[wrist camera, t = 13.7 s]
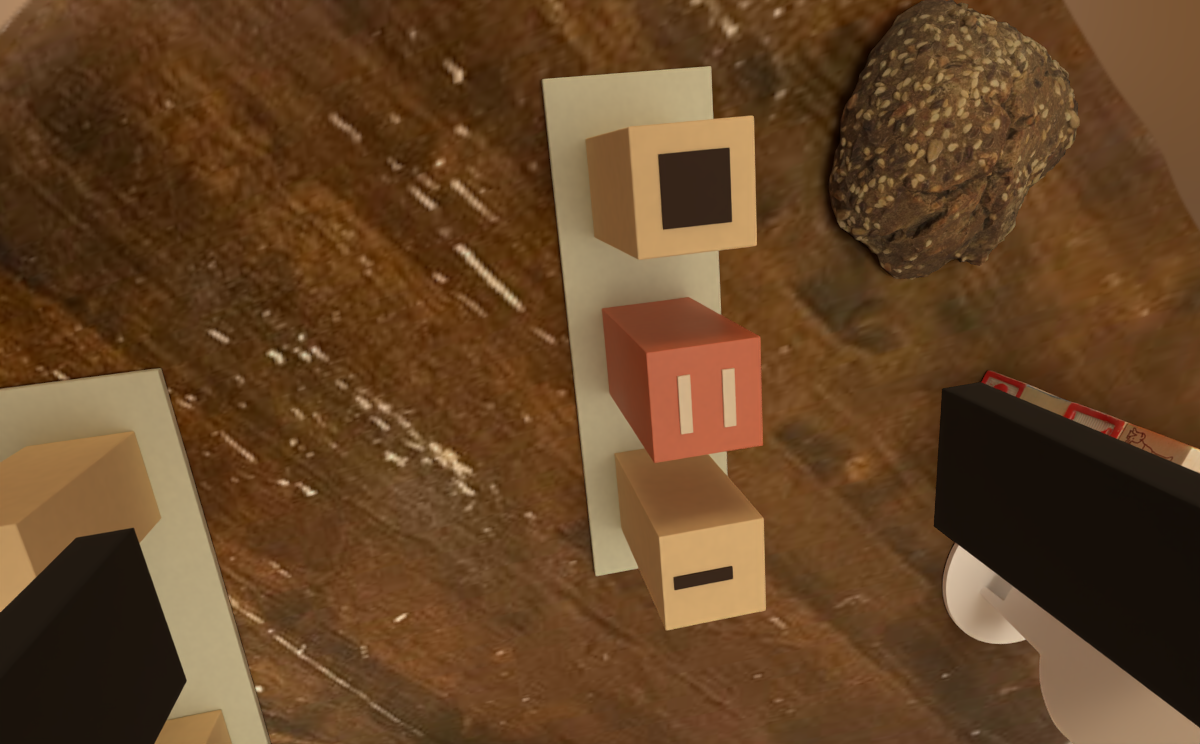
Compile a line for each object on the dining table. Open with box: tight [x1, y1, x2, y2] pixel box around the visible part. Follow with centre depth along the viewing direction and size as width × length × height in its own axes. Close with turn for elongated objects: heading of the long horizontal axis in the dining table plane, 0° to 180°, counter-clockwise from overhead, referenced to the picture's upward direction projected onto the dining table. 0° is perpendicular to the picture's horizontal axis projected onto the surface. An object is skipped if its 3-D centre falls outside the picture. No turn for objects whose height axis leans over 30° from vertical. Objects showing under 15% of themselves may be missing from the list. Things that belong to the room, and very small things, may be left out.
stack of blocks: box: [982, 371, 1200, 473], centre depth 38 cm, size 21×6×12 cm, turn 68°
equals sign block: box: [602, 297, 763, 463], centre depth 31 cm, size 5×5×9 cm
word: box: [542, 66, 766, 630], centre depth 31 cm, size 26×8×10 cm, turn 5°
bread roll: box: [828, 0, 1080, 279], centre depth 34 cm, size 13×12×5 cm
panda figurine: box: [942, 543, 1200, 744], centre depth 38 cm, size 12×11×15 cm
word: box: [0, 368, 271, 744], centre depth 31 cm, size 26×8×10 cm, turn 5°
